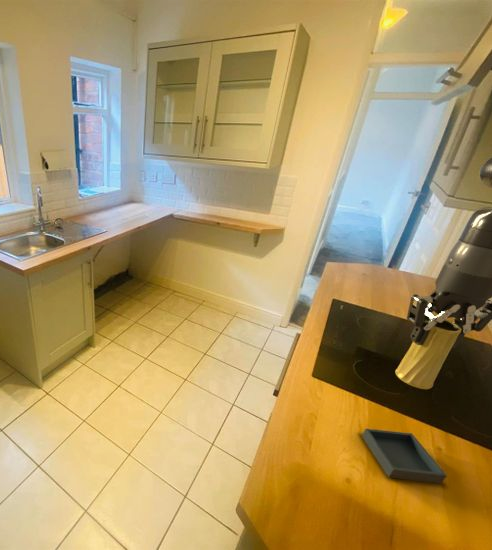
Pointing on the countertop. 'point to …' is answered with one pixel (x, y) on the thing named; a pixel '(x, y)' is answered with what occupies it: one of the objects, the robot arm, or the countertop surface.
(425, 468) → the tray
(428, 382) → the vase
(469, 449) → the countertop surface
